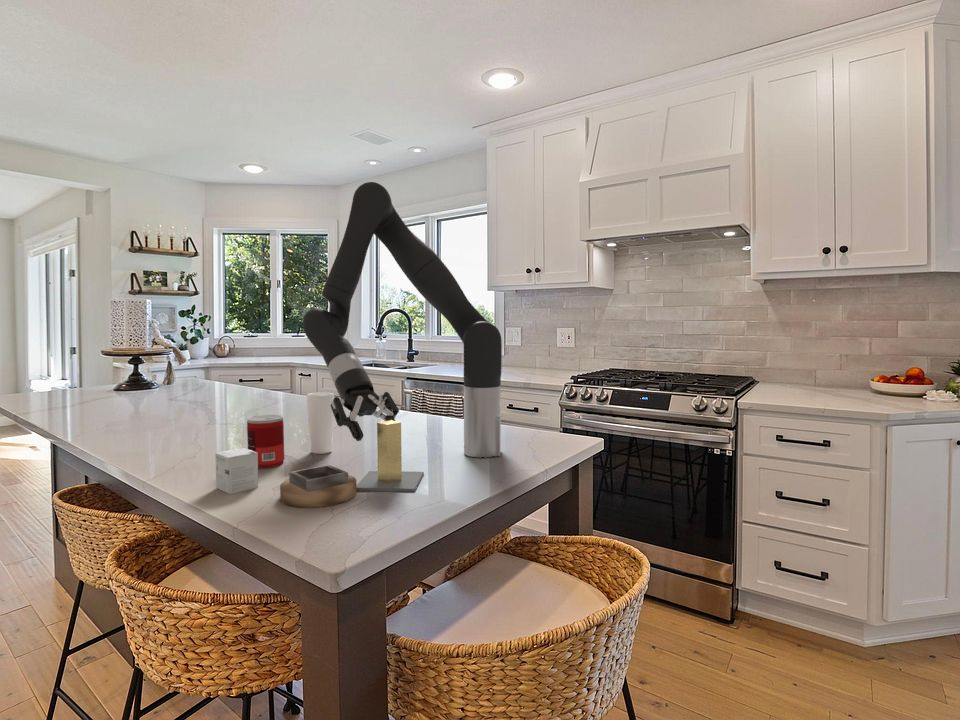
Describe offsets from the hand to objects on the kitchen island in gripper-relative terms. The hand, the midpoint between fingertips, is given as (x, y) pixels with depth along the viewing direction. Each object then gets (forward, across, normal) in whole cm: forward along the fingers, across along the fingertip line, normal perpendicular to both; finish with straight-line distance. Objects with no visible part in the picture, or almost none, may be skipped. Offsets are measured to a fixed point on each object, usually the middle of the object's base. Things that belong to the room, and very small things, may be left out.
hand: (378, 435), depth 116 cm
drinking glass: (-14, +2, +28) cm, 31 cm away
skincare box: (-3, -24, +16) cm, 30 cm away
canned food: (-13, -13, +26) cm, 32 cm away
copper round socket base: (+8, -15, +5) cm, 18 cm away
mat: (+10, 0, +3) cm, 10 cm away
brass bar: (+9, 0, +3) cm, 10 cm away
